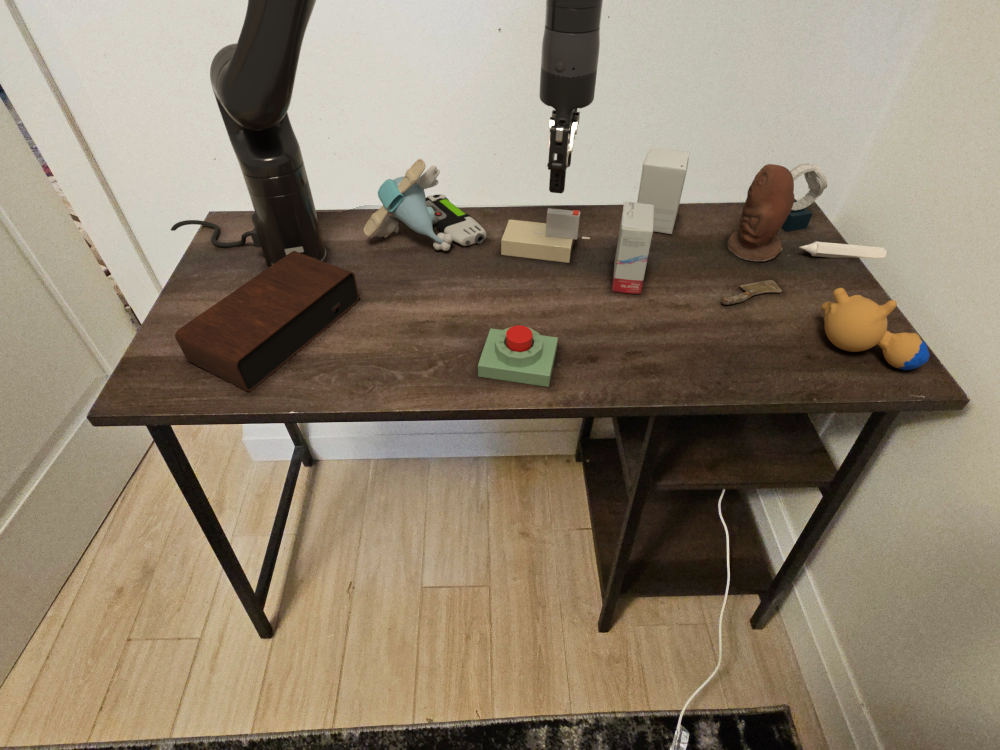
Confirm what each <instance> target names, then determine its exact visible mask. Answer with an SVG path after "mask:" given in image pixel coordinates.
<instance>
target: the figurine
mask: <svg viewBox="0 0 1000 750" xmlns="http://www.w3.org/2000/svg"><path fill="white" fill-rule="evenodd" d="M790 171H791V170H790V169H788V168H787V167H785V166H783V165H780V164H772V163H770V164H769V163H767V164H764V165H763V166H762V167H761V168H760V170H759V171H758V172H757V173H756V174H755V176H754V178H753V180H752V182H751V184H750V185H749V187H748V190H747V195H746V199H745V202H744V205H743V207H742V211H741V214H740V217H741V218H740V220H739V226H738V227H739V228H738V229H737V230H735V231H734V232H732V233H731V235H730V236H729V238H728V240H727V242H726V243H727V248H728V250H729V251H730V252H731V253H733V254H734V255H735V256H737V257H738V258H740V259H743V260H746V261H750V262H767V261H769V260H772V259H775V258H776V257H777V256H778V255H779V254H780V253H781V252H782V251H783V247H782V240H781V239H780V237H779V236H778V235H777V234H778V232H779V231H780V230H781V229H782V228H781V227H782V225H783V224H784V222H785V221H786V219H787V217H788V215H789V214H790V212H791V209H792V207H793V203H794V199H795V193H794V191H795V181H793V176H792V174H791V172H790Z"/></svg>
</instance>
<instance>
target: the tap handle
mask: <svg viewBox="0 0 1000 750" xmlns="http://www.w3.org/2000/svg"><path fill="white" fill-rule="evenodd" d="M545 221H546V222H545V223H546V235H545V236H549V237H558V238H568V239H574V240H578V238H579V230H580V221H581V211H580V209H579V210H578V209H573V210H569V209H560V208H551V207H548V208H547V211H546V220H545Z"/></svg>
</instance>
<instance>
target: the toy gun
mask: <svg viewBox="0 0 1000 750" xmlns="http://www.w3.org/2000/svg"><path fill="white" fill-rule="evenodd" d="M426 207H432V209H433V210H434V211H435V213H434V220H433V221H432V226H435V225H436V228H437V230H438V231H440V233H444V234H451V235H452V236H453V241H452V242H455V243H457V244H458V245H460V246H463V247H467V246H471V245H475V244H476V245H477V244H478V245H481V244H483V243H484V242H485V241H486V239H487V235H488V234H487V231H486V230H485V229H484V227H483V226H482V225H481V224H480V223H479V222H478V221H476V220H475V219H474V218H473V217H472V216H471V215H470V214H469V213H465V212H464V211H463V210H462V209H460V208H459V207H457V205H455V204H454V203H453V202H451V201H450V199H449V198H447V196H446V194H441V193H439V194H433V195H432V194H430V195H427V196H426Z"/></svg>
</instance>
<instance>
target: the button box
mask: <svg viewBox="0 0 1000 750" xmlns="http://www.w3.org/2000/svg"><path fill="white" fill-rule="evenodd" d="M511 327H512V326H511ZM511 327H506V328H505V329H500V328H491V327H490V328H489V331H488V334H487V336H486V339H485V343H484V346H483V349H482V352H481V354H480V358H479V361H478V364H477V376H478V378H485V379H491V380H498V381H506V382H510V383H511V382H512V383H519V384H526V385H532V386H538V387H545V388H550V384H551V380H552V375H553V370H554V366H555V362H556V361H555V360H556V356H557V351H558V342H559V337H558V336H550V335H544V334H543V335H542V334H540V333H539V332H538V331H536V330H534V329H533V328H531V327H529V326H527V327H528V328H529V329H530V330H531V331H532V346H531V347H530V349H528V350H527V351H523V352H515V351H512V350H510V349H509V348H508V347H507V345H506V332H507V330H508V329H509V328H511Z"/></svg>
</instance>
